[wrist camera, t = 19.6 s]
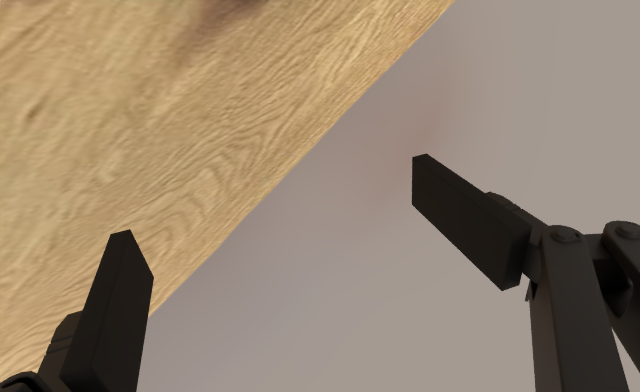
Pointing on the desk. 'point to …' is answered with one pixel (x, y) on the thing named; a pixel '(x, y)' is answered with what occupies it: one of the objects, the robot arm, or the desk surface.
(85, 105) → the desk surface
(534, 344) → the robot arm
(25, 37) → the desk surface
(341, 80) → the desk surface
